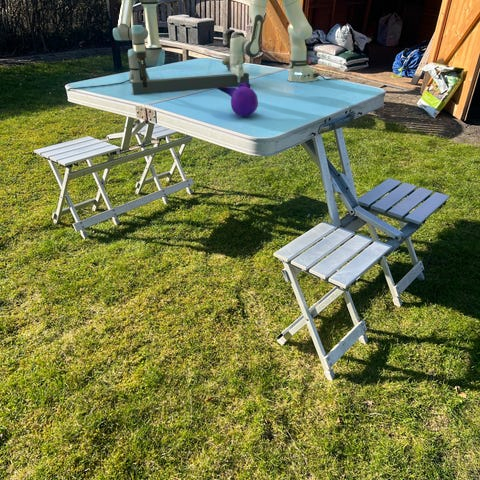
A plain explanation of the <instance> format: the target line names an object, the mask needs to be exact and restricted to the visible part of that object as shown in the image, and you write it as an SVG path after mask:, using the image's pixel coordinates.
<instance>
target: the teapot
mask: <svg viewBox="0 0 480 480" xmlns="http://www.w3.org/2000/svg"><path fill="white" fill-rule="evenodd" d="M230 55H231V53H230V54H229V56H227V57H226V56H225V57H224V58H222V60H221V64H222V65H224V66H226V68H227V70H228V71H230V72H231V70H230V62H229V59H230ZM245 62H246V54H243V63H242V64H241V65H244V64H245Z"/></svg>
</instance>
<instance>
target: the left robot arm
mask: <svg viewBox="0 0 480 480" xmlns="http://www.w3.org/2000/svg"><path fill="white" fill-rule="evenodd" d="M120 2H121V6H120V11H119V19H118V22H117V23H118V24H117V27H114V28H113V29H112V37H113V38H114V40H115V41H132V47H133V48H130V49H128V50H127V57H128V66H129V76H128V79H127V80H125V81H121V82H115V83H108V84H100V85H99V84H98V85H89V86H80V87H69V88H68V89H67V92H69V91H70V90H78V89H87V88H99V87H107V86H115V85H120V84H125V83H127V82H129V83H131V81H142V82H143V88H145V87H147V80H151V79H150V76H149V74H148V71H147V67H163V65H165V61H166V60H165V59H166V51H165V49H164V48H163V46H162V44H160V35H159V25H158V14H157V7H158V5H159V2H160V0H120ZM136 2H137V3H140V5H141V6H142V7H143V16H144V23H145V27H144V26H143V25H142V24H133V25H131V22H132V15H133V9H134V6H135V5H136ZM146 43H147V44H146ZM71 131H72V135H74V133H75V131H74V130H73V129H72V130H71Z"/></svg>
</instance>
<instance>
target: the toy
mask: <svg viewBox="0 0 480 480" xmlns="http://www.w3.org/2000/svg"><path fill="white" fill-rule="evenodd" d="M216 89H217V90H219V91H221V92H222V93H225V94H226V95H228V96H230V97H231V98H230V106H231V110H232V111H233V113H234V114H236V116H239V117H243V118H244V117H245V118H246V117H251V116H252V115H253V114H254V113H255V112H256V111H257V109H258V107H259V99H258V95H257V93H256V92H255V90H253V89H252V88H251V84H250V82H249V83H248V82H244V83H242V84H239V85H238V86H237V88H236V87H218V88H216Z"/></svg>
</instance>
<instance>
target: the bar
mask: <svg viewBox="0 0 480 480" xmlns="http://www.w3.org/2000/svg"><path fill="white" fill-rule="evenodd" d="M243 74H244V75H243V77H241V78H240V82H237V78H238V77H237V76H236V75H235V74H233V73H223V74H210V75H197V76H185V77H184V76H182V77H170V78H157V79H150V80H147V87H145V88H143V82H142V81H131V82H130V83H131V88H132V89H131V90H132V94H133V95H147V94H148V95H149V94H161V93H170V92H183V91H195V90H207V89H217V88H218V87H230V88H233V87H238V85H239V84H242V83H244V82H248V83H249V84H250V73H248V72H243Z"/></svg>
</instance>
